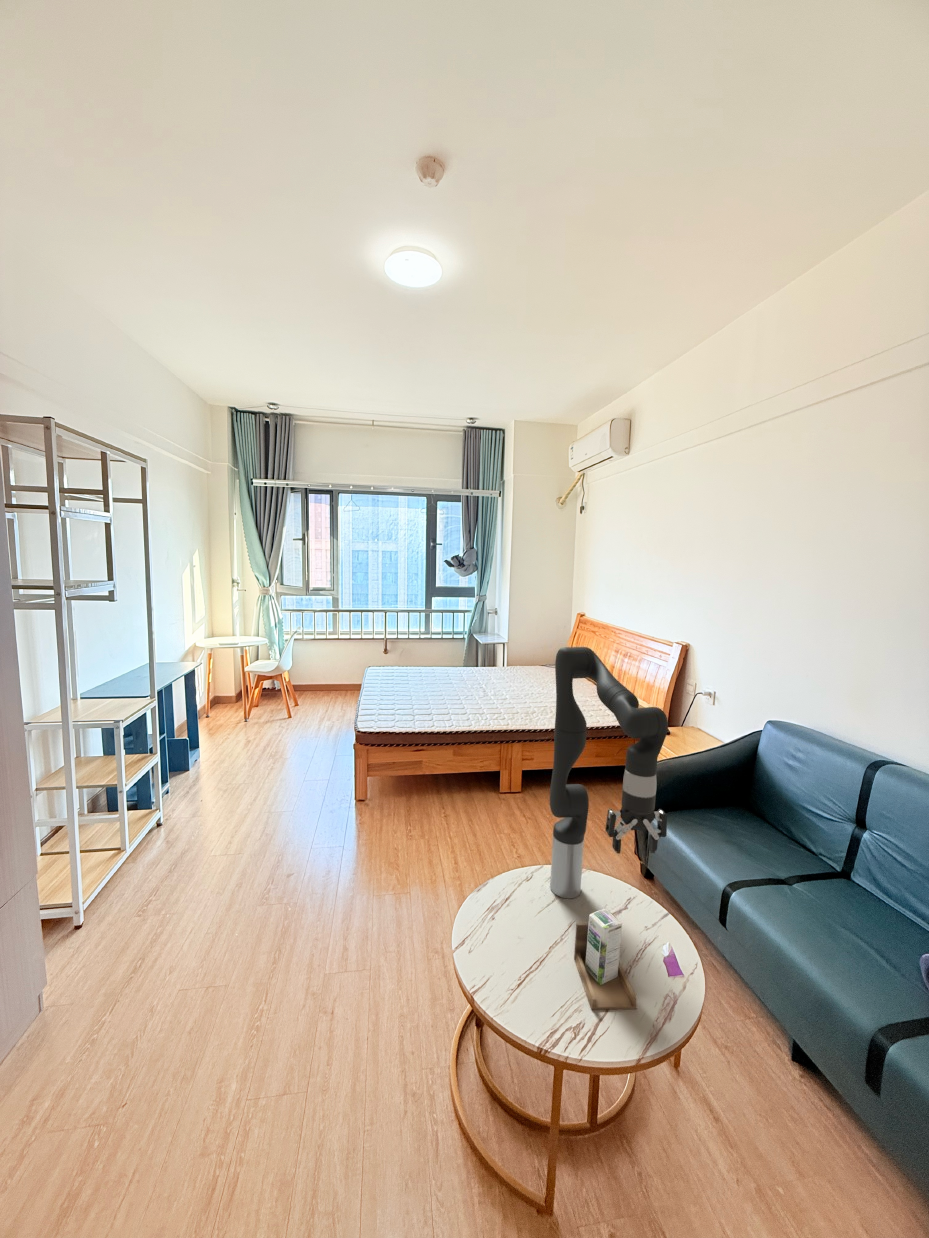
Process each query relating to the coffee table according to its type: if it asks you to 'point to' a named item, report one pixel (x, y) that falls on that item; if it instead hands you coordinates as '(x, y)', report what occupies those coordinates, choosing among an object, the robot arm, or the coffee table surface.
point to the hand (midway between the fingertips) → (634, 851)
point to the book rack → (609, 993)
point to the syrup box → (603, 946)
